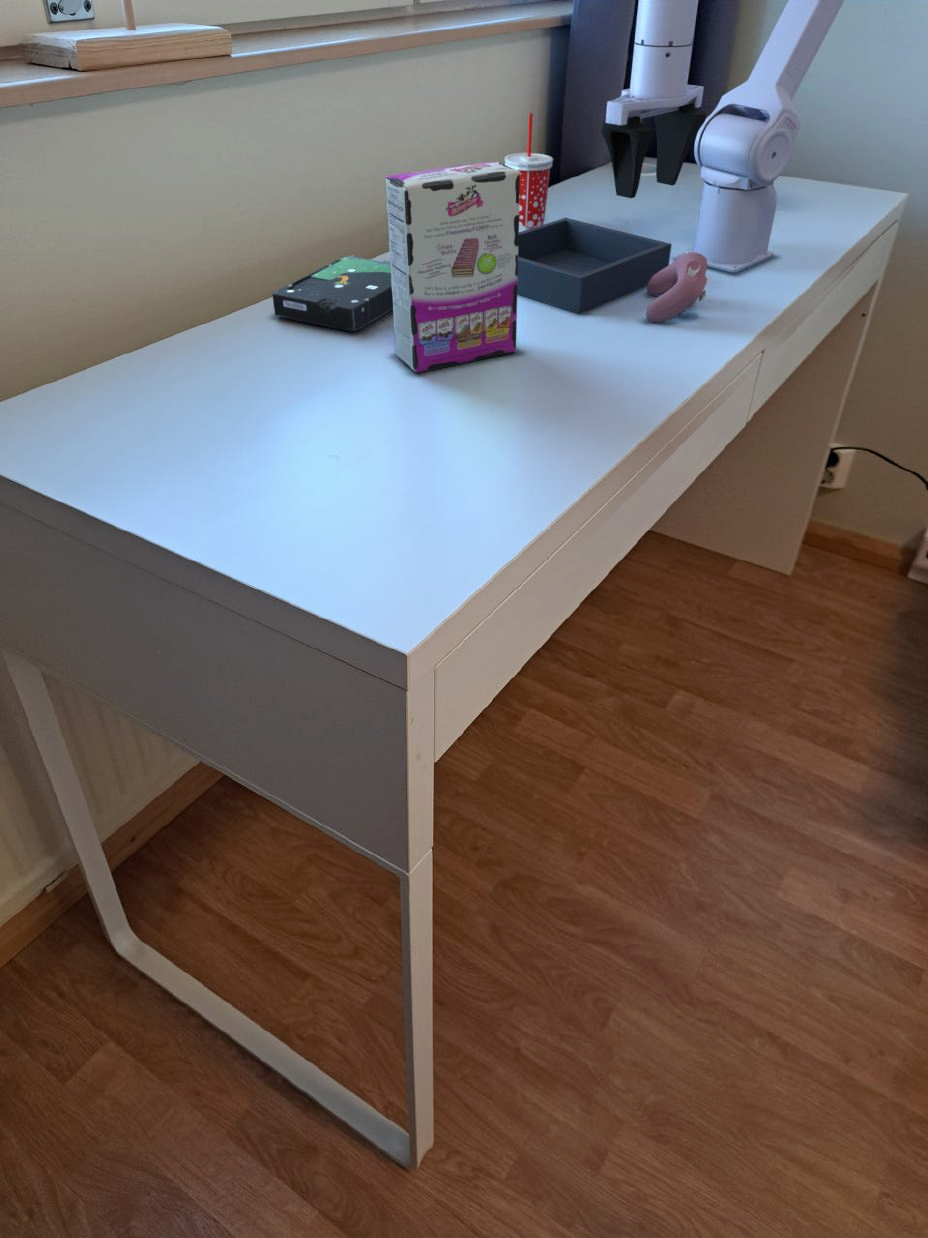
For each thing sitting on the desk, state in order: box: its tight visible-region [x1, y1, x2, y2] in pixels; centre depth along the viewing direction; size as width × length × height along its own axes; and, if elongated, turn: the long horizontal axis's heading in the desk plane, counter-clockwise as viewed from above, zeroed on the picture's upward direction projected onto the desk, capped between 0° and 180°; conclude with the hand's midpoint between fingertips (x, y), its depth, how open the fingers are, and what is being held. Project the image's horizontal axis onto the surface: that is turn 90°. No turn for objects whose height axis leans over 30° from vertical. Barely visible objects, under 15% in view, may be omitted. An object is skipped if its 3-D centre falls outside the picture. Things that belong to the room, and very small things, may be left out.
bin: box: [517, 217, 672, 315], centre depth 106 cm, size 17×16×4 cm
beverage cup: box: [504, 112, 554, 232], centre depth 117 cm, size 6×6×14 cm
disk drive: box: [271, 255, 393, 332], centre depth 99 cm, size 10×3×15 cm
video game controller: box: [645, 249, 708, 324], centre depth 97 cm, size 10×5×7 cm, turn 170°
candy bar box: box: [384, 161, 520, 373], centre depth 84 cm, size 11×5×16 cm, turn 117°
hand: (646, 189), depth 100 cm, fingers open, 7 cm apart
